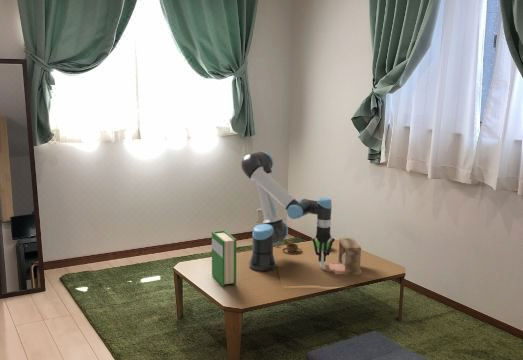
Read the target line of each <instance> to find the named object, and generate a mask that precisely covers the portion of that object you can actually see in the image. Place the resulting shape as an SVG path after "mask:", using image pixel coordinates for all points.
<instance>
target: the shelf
mask: <svg viewBox="0 0 523 360" xmlns="http://www.w3.org/2000/svg"><path fill="white" fill-rule="evenodd" d="M338 240H339V241H338V262H337V263H339V262H342V255H343V253H346V258H345V274H344V275H345V276H360V275H361V274H360V270H361V256H362V255H361V254H362V248H361V245H360V244H358V242H357V241H356V240H355V238H353V237H351V238H350V237H348V238H347V237H346V238H345V237H343V238H342V237H341V238H339V239H338Z"/></svg>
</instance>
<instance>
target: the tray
mask: <svg viewBox="0 0 523 360" xmlns="http://www.w3.org/2000/svg"><path fill="white" fill-rule="evenodd" d="M324 269H325V271H326V272H333V273H334V275H345V265H343V263H342V262H339V263H338V262H329V263H327V262H324ZM360 275H362V270H361V269H360Z"/></svg>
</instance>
